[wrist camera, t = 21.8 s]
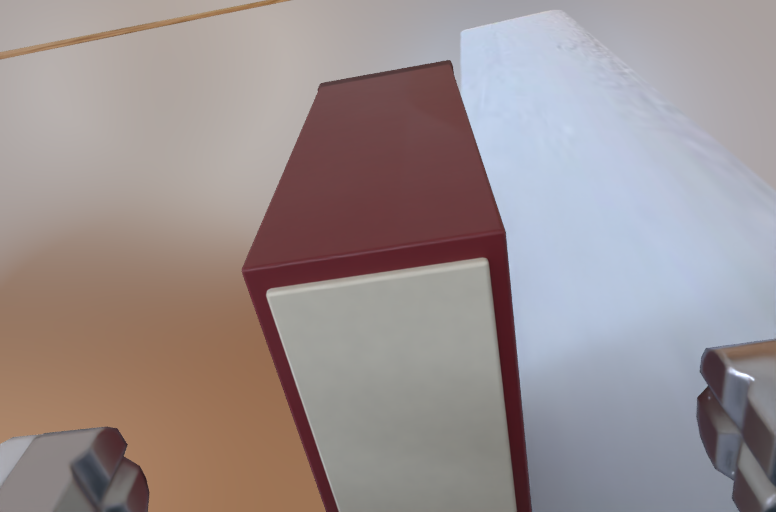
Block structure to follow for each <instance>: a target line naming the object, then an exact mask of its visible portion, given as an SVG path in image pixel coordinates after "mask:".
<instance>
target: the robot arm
mask: <svg viewBox="0 0 776 512" xmlns="http://www.w3.org/2000/svg"><path fill="white" fill-rule="evenodd" d="M700 373H701V375H702V376H703V378H704V380H705V381H706V383H707V384H708V387H707V388H706V389H705V390H704V391H703V392H702V393H701V394H700V395H699V396H698V397H697V416H696V417H697V422H698V427H699V433H700V437H701V440H702V443H703V445H704V448H705V450H706V453H707V455H708V457H709V458H710V460H711V462H712V464H713V466H714V468H715V469H716V470H718V471H719V472H721V473H723V474H724V475H726V476H727V477H729V478H731V479H732V480H734V485H733V493H732V500H733V501H734V503H735V505H736V507H737V508H738V510H739V512H776V339H769V340H762V341H755V342H747V343H740V344H733V345H726V346H718V347H711V348H706V349H705V351H704V353H703V355H702V357H701V365H700ZM127 445H128V444H127V443H126V441H125V440H124V438H123V437H122V435H121V433H120V432H119V430H118V429H117V428H111V427H99V428H89V429H80V430H70V431H61V432H52V433H44V434H42V435H30V436H20V437H13V438H11V439H9V440H7V441H5V442H3V443H2V444H0V512H148V503H149V489H148V485H147V480H146V477H145V475H144V473H143V471H142V469H141V468H140V466H139V465H137V464H136V463H134V462H132V461H131V460H129V459H127V458H126V457H124V454H125V451H126V448H127Z"/></svg>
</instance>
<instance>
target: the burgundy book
mask: <svg viewBox="0 0 776 512" xmlns="http://www.w3.org/2000/svg"><path fill="white" fill-rule="evenodd" d="M242 273H243V277H244V280H245V282H246V285H247V288H248V291H249V293H250V297H251V299H252V302H253V305H254V308H255V311H256V314H257V316H258V319H259V322H260V325H261V328H262V330H263V333H264V336H265V339H266V342H267V345H268V348H269V351H270V353H271V356H272V359H273V362H274V365H275V368H276V370H277V373H278V376H279V379H280V382H281V385H282V387H283V390H284V393H285V396H286V399H287V402H288V405H289V407H290V410H291V413H292V416H293V419H294V422H295V424H296V427H297V430H298V433H299V436H300V438H301V441H302V444H303V447H304V450H305V453H306V456H307V458H308V461H309V464H310V467H311V470H312V472H313V475H314V478H315V481H316V484H317V487H318V490H319V492H320V495H321V498H322V501H323V504H324V507H325V509H326V512H532V507H531V496H530V486H529V475H528V464H527V454H526V443H525V433H524V422H523V411H522V401H521V390H520V379H519V369H518V358H517V348H516V337H515V326H514V316H513V305H512V294H511V284H510V273H509V263H508V252H507V241H506V232H505V229H504V226H503V222H502V219H501V216H500V213H499V210H498V207H497V204H496V201H495V198H494V195H493V192H492V189H491V186H490V183H489V180H488V177H487V174H486V171H485V168H484V165H483V162H482V159H481V156H480V153H479V150H478V147H477V143H476V140H475V137H474V134H473V131H472V128H471V125H470V122H469V119H468V116H467V113H466V110H465V107H464V104H463V101H462V98H461V95H460V92H459V89H458V86H457V83H456V80H455V77H454V72H453V66H452V63H451V61H450V60H447V61H441V62H436V63H430V64H425V65H419V66H413V67H408V68H402V69H397V70H391V71H385V72H380V73H374V74H369V75H363V76H358V77H352V78H347V79H341V80H336V81H331V82H325V83H321V84H320V86H319V88H318V93H317V95H316V98H315V100H314V102H313V104H312V107H311V109H310V111H309V114H308V116H307V119H306V121H305V123H304V125H303V128H302V130H301V132H300V135H299V137H298V139H297V142H296V144H295V146H294V149H293V151H292V154H291V156H290V158H289V160H288V163H287V165H286V167H285V170H284V172H283V175H282V177H281V179H280V181H279V184H278V186H277V188H276V191H275V193H274V196H273V198H272V200H271V202H270V205H269V207H268V209H267V212H266V214H265V216H264V219H263V221H262V223H261V226H260V228H259V230H258V233H257V235H256V237H255V240H254V242H253V244H252V246H251V249H250V251H249V253H248V256H247V258H246V260H245V263H244V265H243V267H242Z"/></svg>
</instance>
